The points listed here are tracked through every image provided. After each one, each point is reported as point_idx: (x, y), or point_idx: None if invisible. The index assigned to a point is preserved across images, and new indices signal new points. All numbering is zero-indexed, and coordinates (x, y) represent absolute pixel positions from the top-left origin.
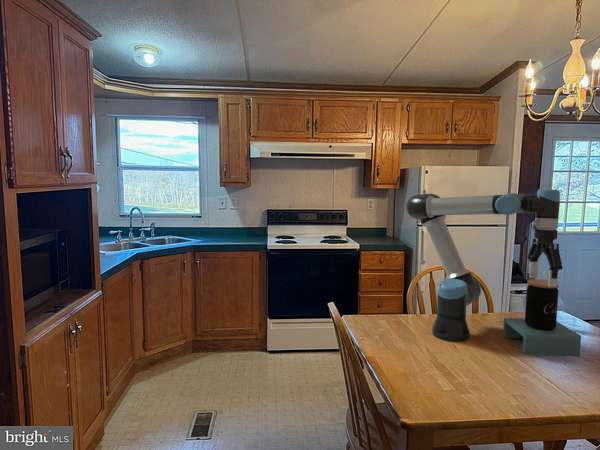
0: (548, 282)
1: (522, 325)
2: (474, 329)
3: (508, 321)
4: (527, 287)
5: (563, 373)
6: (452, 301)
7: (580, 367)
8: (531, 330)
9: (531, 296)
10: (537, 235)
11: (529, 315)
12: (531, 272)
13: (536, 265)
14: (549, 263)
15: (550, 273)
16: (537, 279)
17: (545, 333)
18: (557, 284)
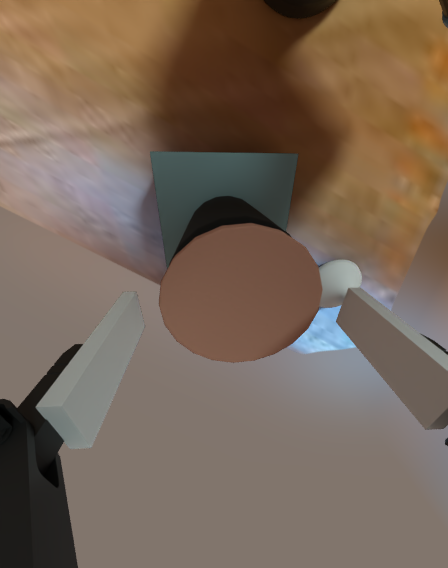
0: (122, 306)
1: (229, 184)
2: (338, 79)
3: (265, 153)
4: (262, 221)
5: (83, 198)
6: None
7: (126, 248)
8: (189, 191)
9: (212, 215)
10: None
11: (214, 200)
12: (371, 315)
13: (405, 390)
14: (13, 520)
15: (66, 369)
16: (313, 312)
17: (171, 221)
18: (202, 352)
